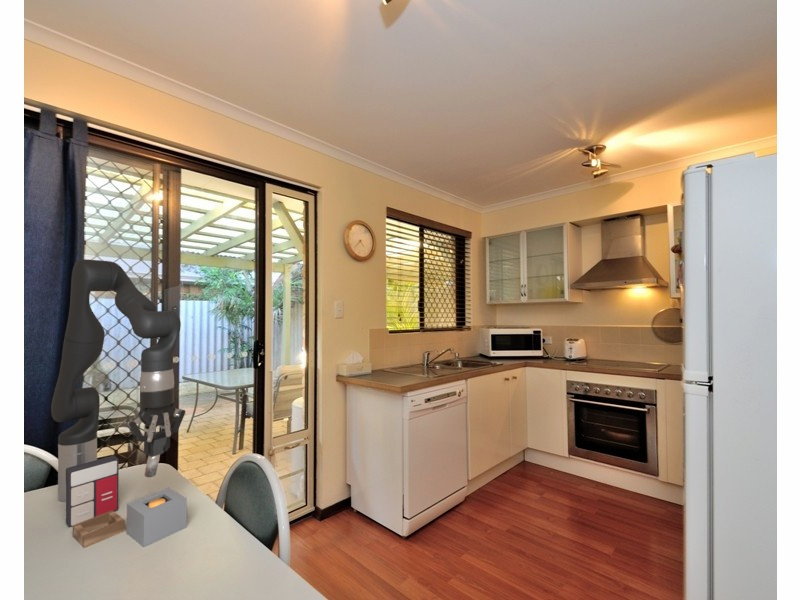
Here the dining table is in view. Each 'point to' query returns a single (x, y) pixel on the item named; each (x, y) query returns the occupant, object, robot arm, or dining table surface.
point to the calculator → (91, 489)
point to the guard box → (156, 517)
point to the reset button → (156, 502)
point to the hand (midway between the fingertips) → (157, 452)
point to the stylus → (155, 453)
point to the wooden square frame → (98, 528)
